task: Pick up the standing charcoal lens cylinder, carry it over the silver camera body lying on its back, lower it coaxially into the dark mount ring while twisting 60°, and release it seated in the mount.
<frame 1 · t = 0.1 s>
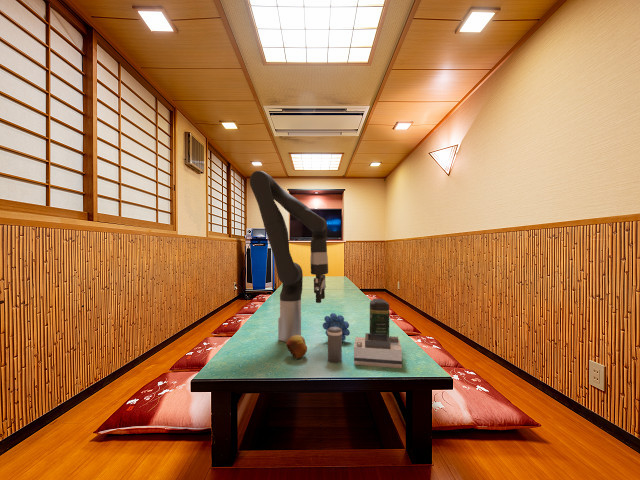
hand: (320, 300, 124), 17 cm above the table, tool pointing down, fingers open, 8 cm apart
camera body: (377, 359, 104), on the table
lens: (334, 360, 103), on the table
coffee jar: (379, 345, 119), on the table
grapes: (336, 342, 122), on the table
fruit: (296, 357, 106), on the table
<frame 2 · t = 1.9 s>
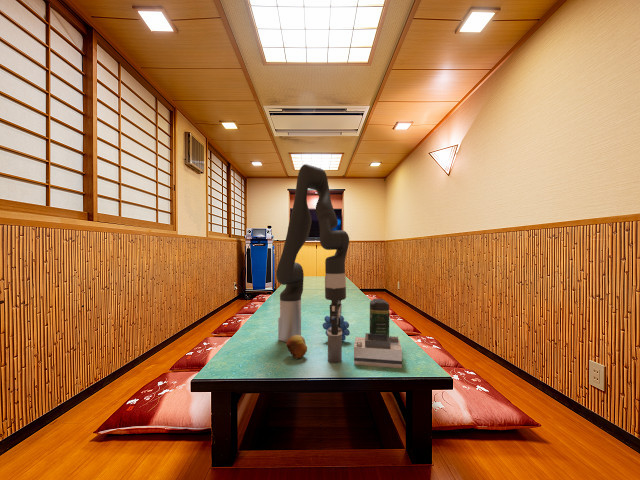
hand: (336, 331, 103), 10 cm above the table, tool pointing down, fingers open, 8 cm apart
nothing on the table moved.
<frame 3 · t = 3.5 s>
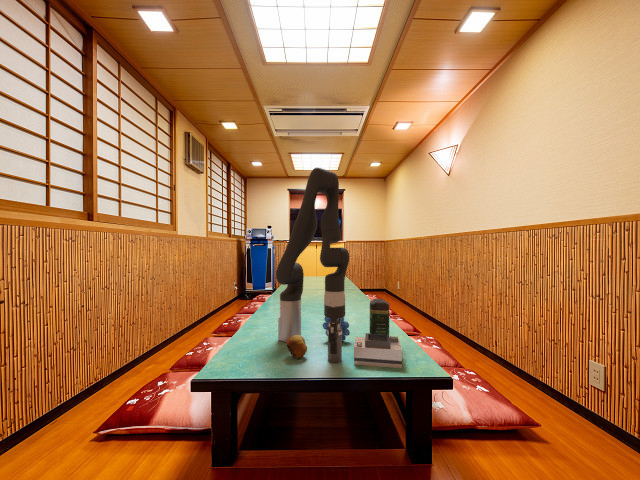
hand: (334, 350, 103), 3 cm above the table, tool pointing down, fingers closed on lens, 5 cm apart
lens: (334, 360, 103), on the table, touching gripper
everything else where it was.
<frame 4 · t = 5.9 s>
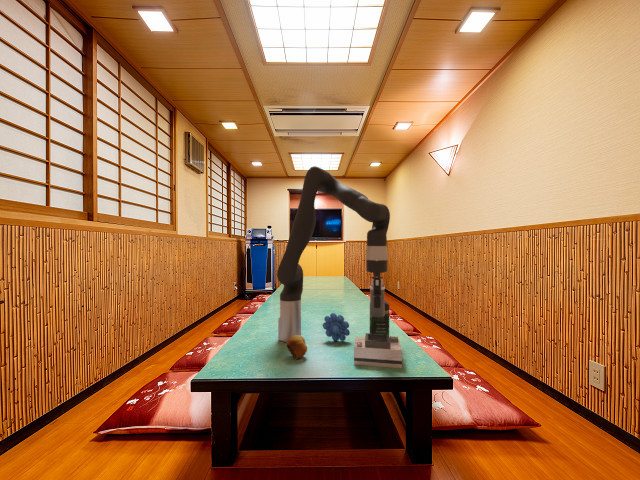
hand: (377, 305, 104), 19 cm above the table, tool pointing down, fingers closed on lens, 5 cm apart
lens: (377, 315, 104), point 16 cm above the table, touching gripper
everything else where it was.
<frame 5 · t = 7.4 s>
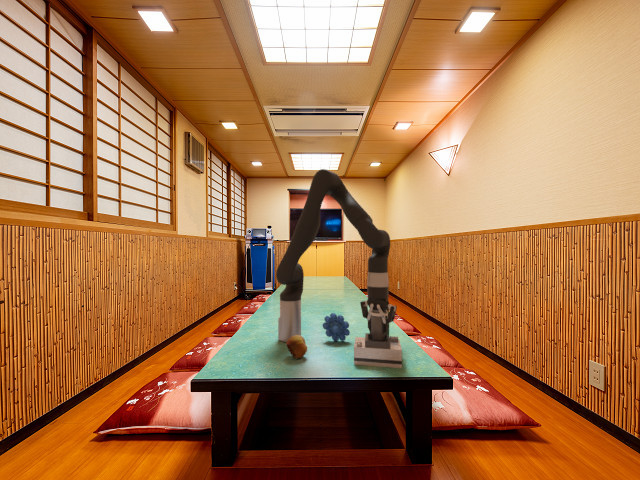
hand: (378, 331, 104), 10 cm above the table, tool pointing down, fingers closed on lens, 5 cm apart
lens: (378, 341, 104), point 6 cm above the table, touching gripper
everything else where it was.
when the fingers open (10 cm above the table, at t = 8.5 s): lens stays where it is, resting on camera body.
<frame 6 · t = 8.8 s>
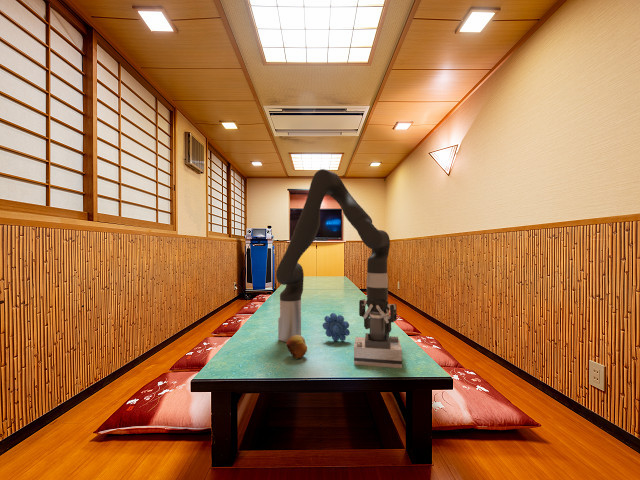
hand: (377, 330, 104), 10 cm above the table, tool pointing down, fingers open, 7 cm apart
lens: (377, 343, 104), point 6 cm above the table, touching camera body
everything else where it was.
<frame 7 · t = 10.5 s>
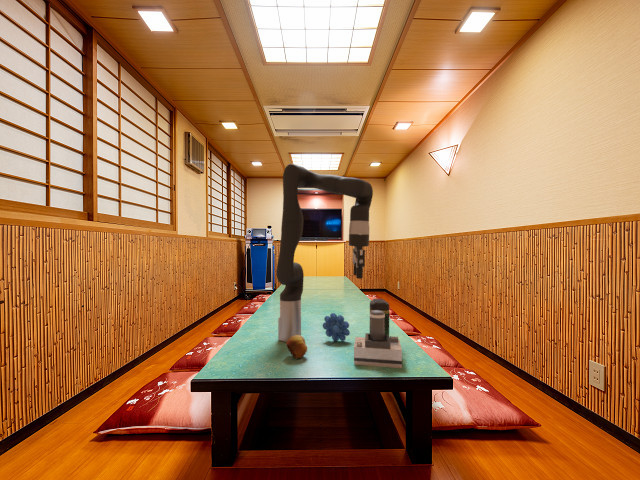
hand: (357, 276, 108), 29 cm above the table, tool pointing down, fingers open, 8 cm apart
nothing on the table moved.
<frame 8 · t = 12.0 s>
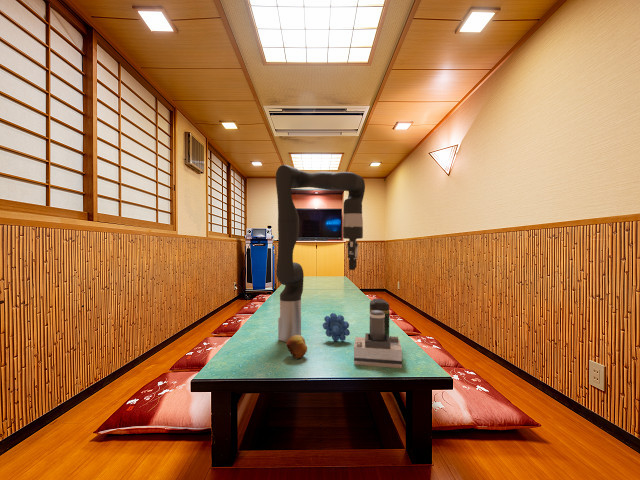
hand: (352, 268, 109), 32 cm above the table, tool pointing down, fingers open, 8 cm apart
nothing on the table moved.
at the end: lens 0.0 cm off-centre on the camera body, point 6.0 cm above the camera body's base; lens tilted 0°; the gripper is holding nothing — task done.
